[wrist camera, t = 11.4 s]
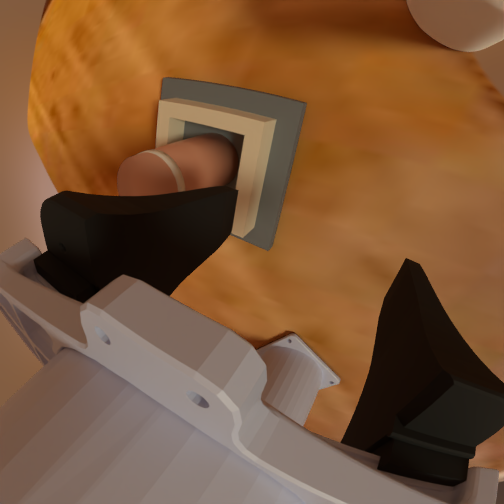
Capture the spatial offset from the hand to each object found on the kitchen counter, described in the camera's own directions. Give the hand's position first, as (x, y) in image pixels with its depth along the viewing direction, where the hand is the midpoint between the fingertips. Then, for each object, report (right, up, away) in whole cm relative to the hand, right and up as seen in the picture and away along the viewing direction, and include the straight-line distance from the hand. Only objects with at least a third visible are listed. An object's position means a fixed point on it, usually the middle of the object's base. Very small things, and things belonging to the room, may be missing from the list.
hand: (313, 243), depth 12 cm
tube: (-5, +7, +11) cm, 14 cm away
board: (-5, +7, +12) cm, 15 cm away
